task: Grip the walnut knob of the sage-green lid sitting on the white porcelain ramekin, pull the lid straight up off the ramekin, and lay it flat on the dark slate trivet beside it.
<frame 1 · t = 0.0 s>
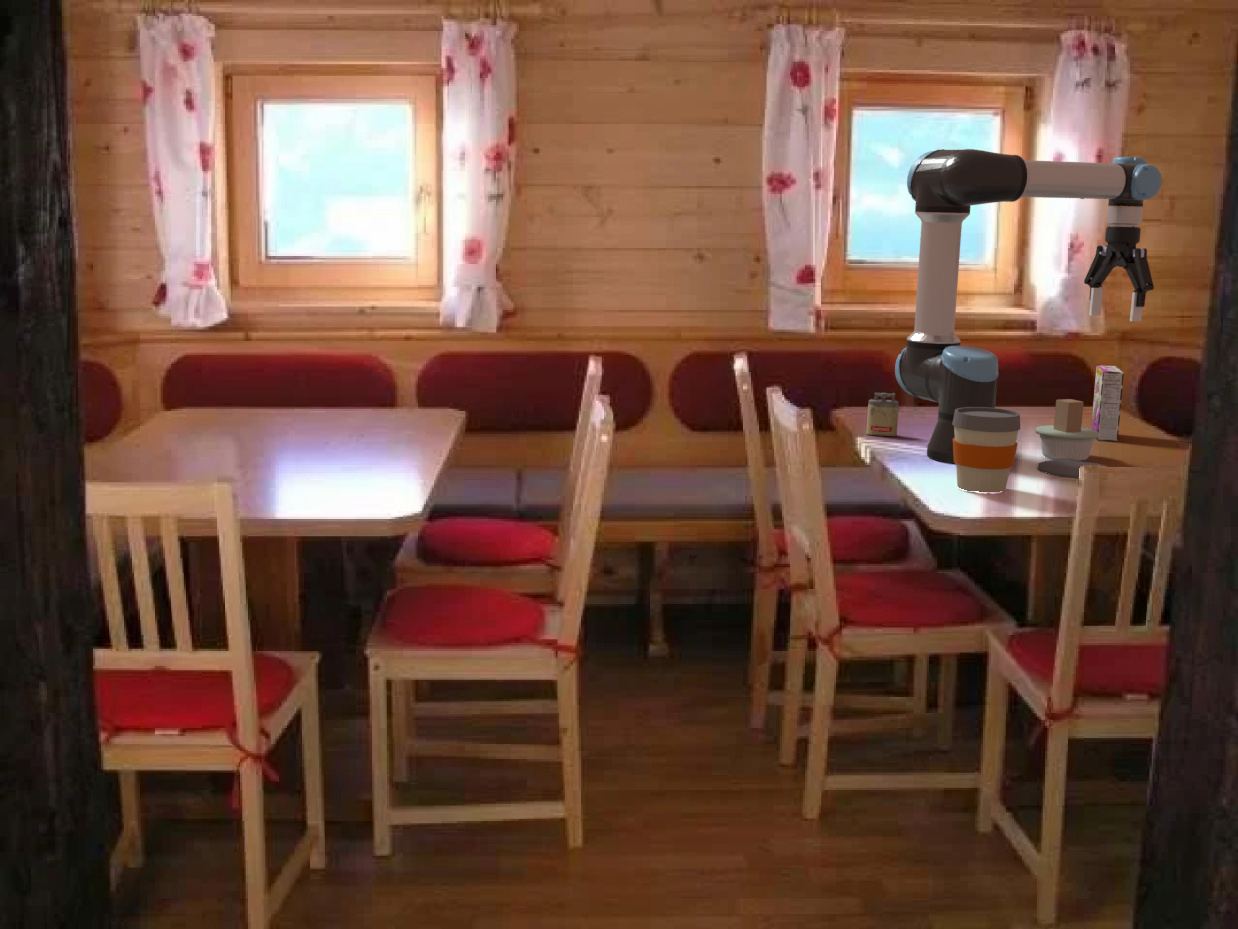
hand: (1114, 318, 313), 28 cm above the table, fingers open, 13 cm apart
candy bar box: (1103, 438, 319), on the table
lid: (1066, 434, 292), point 5 cm above the table, touching ramekin
trivet: (1075, 471, 278), on the table
lighter: (881, 435, 315), on the table
ramekin: (1064, 458, 293), on the table, touching lid
reusable coffee cup: (981, 490, 259), on the table
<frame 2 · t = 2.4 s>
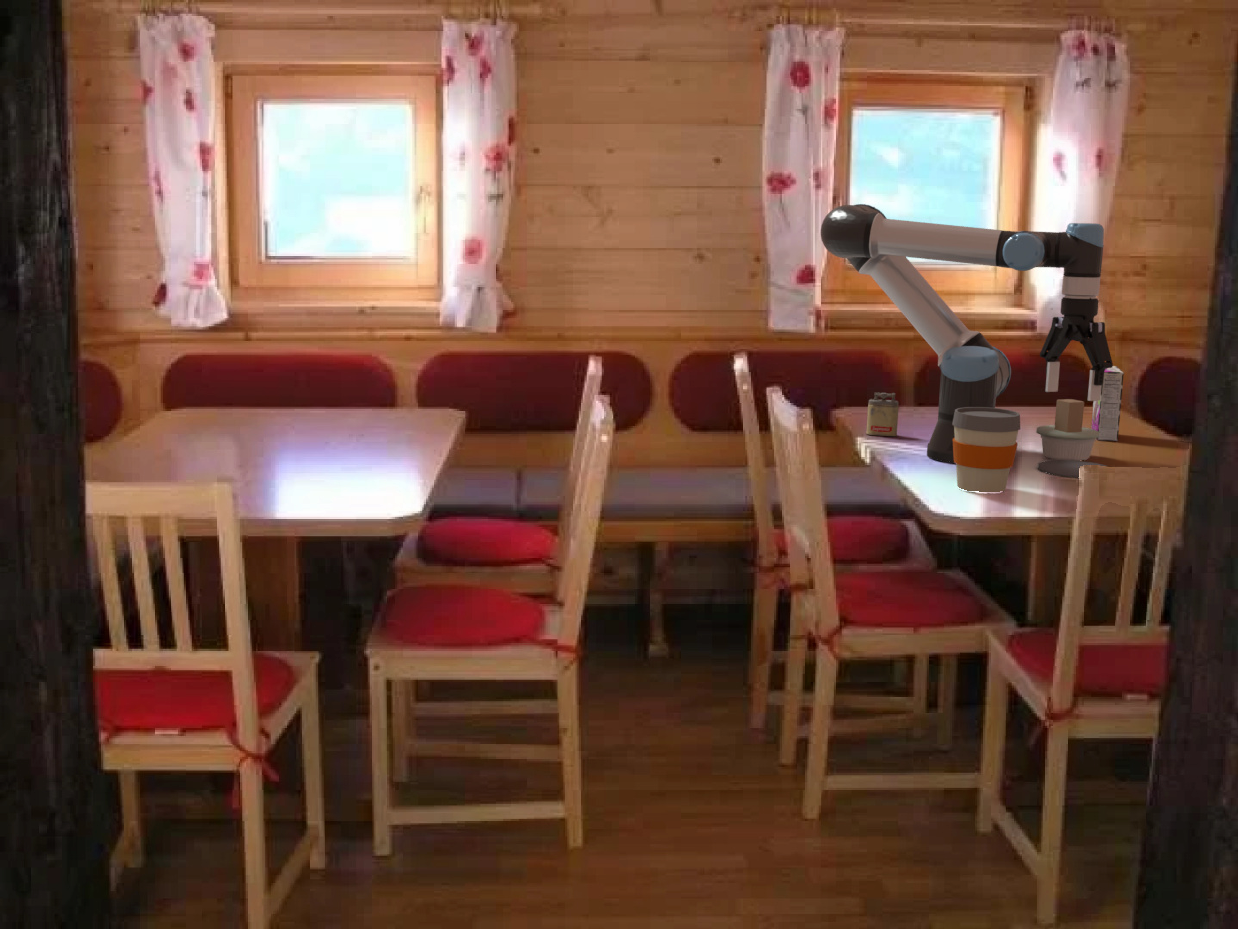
hand: (1072, 396, 290), 13 cm above the table, fingers open, 13 cm apart
nothing on the table moved.
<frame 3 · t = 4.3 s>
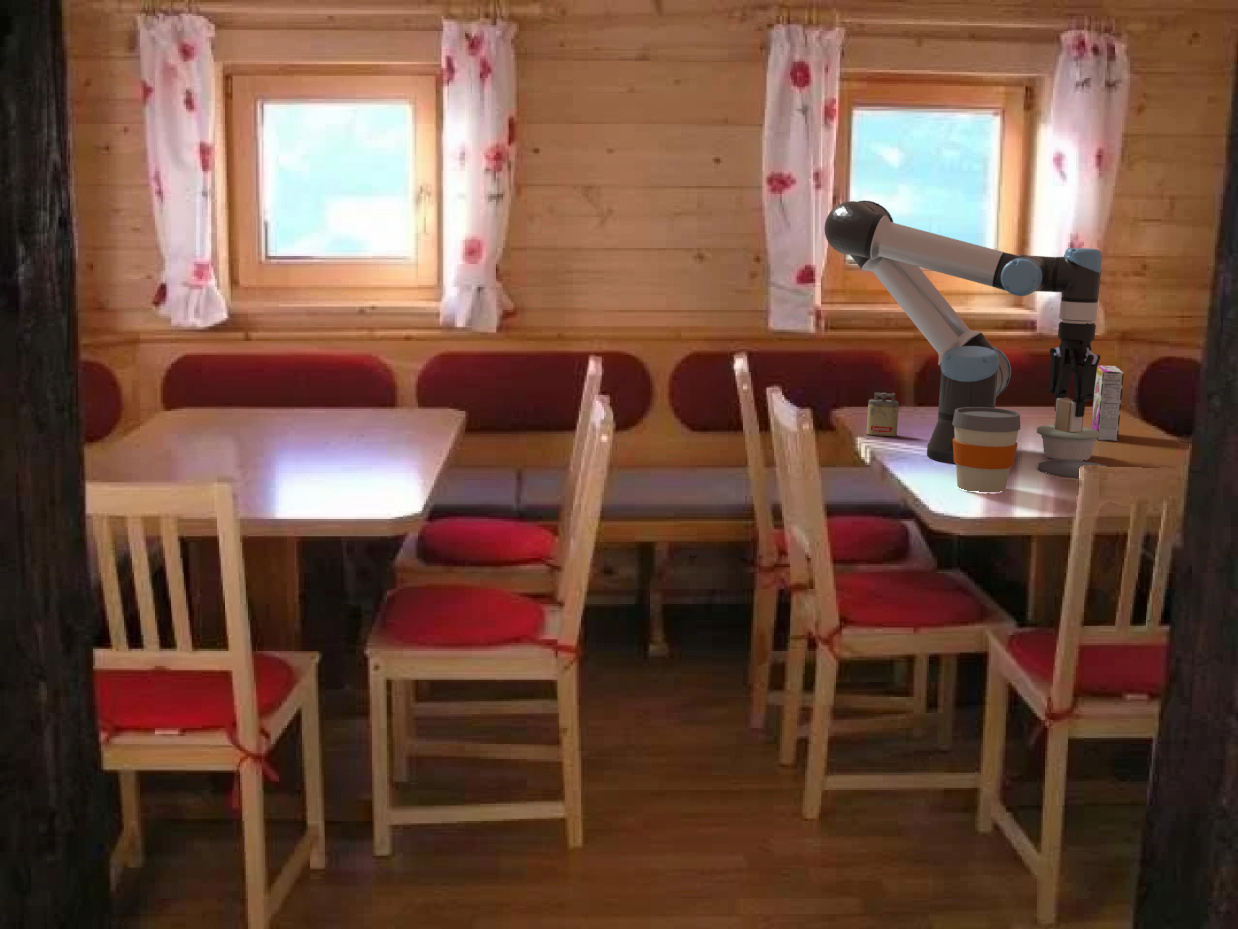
hand: (1067, 429, 292), 6 cm above the table, fingers closed on lid, 4 cm apart
lid: (1068, 434, 292), point 5 cm above the table, touching gripper, ramekin
everything else where it was.
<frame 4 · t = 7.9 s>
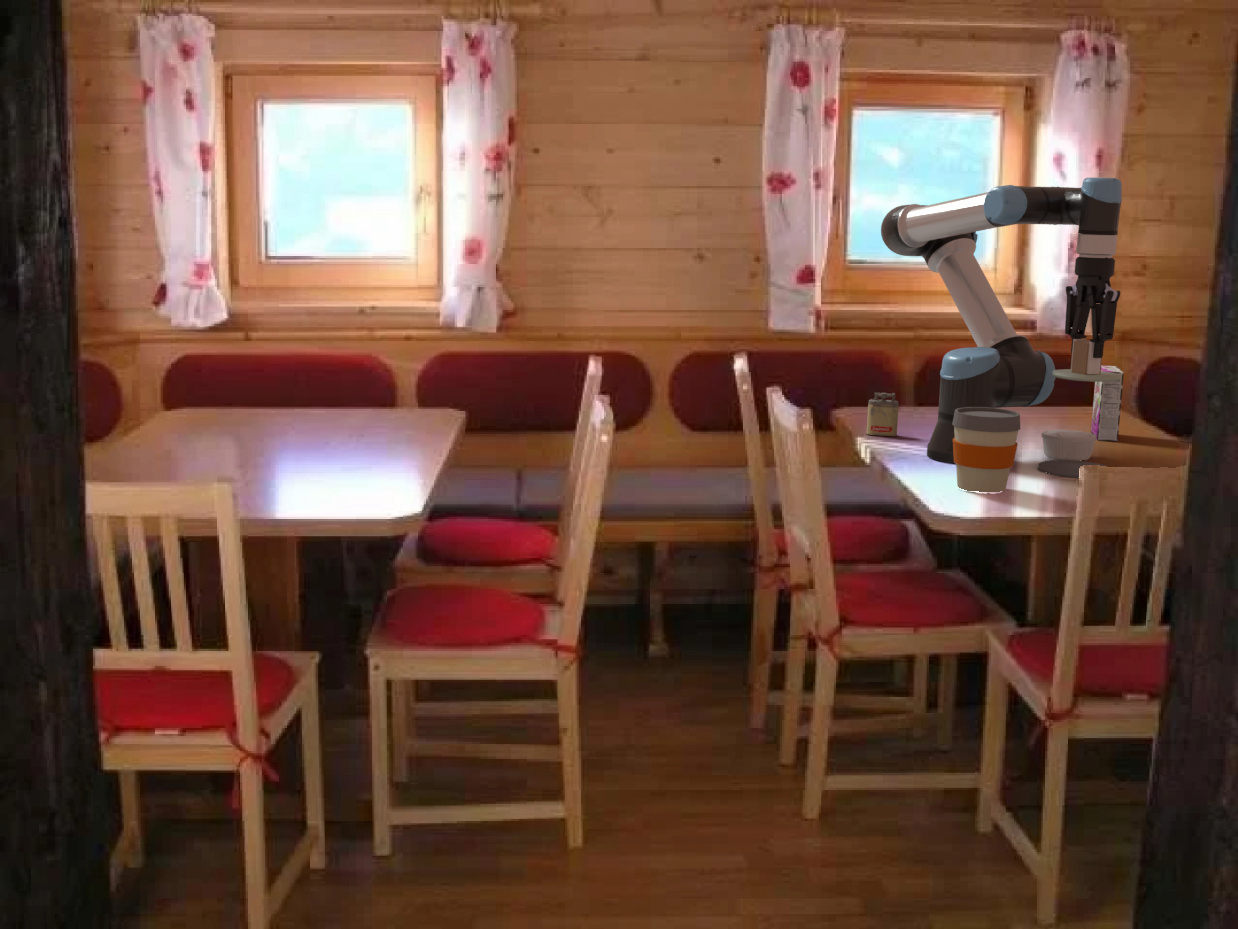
hand: (1084, 372, 274), 21 cm above the table, fingers closed on lid, 4 cm apart
lid: (1085, 377, 274), point 20 cm above the table, touching gripper
ramekin: (1066, 458, 293), on the table
everything else where it was.
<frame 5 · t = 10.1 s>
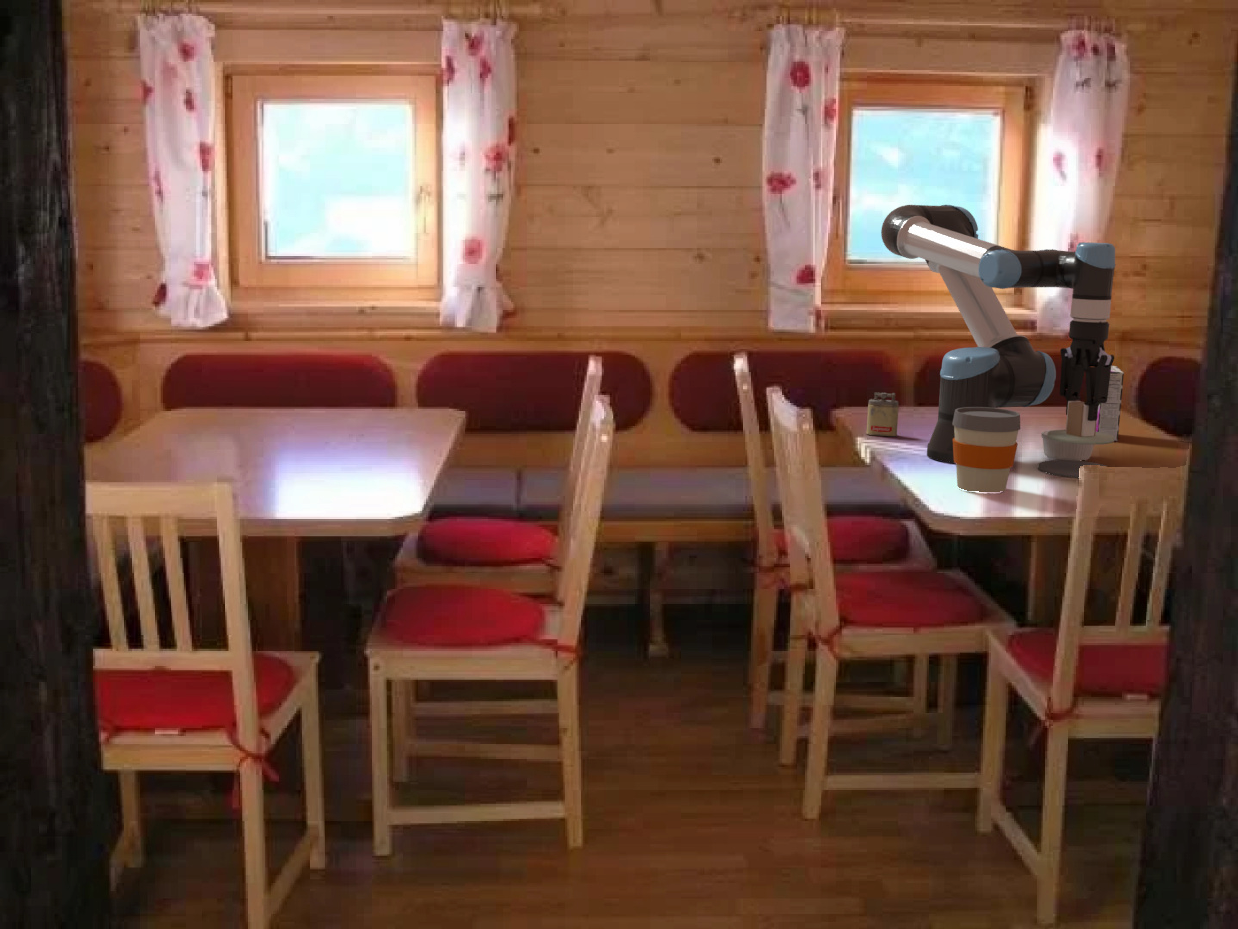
hand: (1079, 433, 276), 8 cm above the table, fingers closed on lid, 4 cm apart
lid: (1080, 438, 277), point 7 cm above the table, touching gripper
everything else where it was.
when the fingers open (3 cm above the table, at t = 11.7 s): lid drops 1 cm, resting on trivet.
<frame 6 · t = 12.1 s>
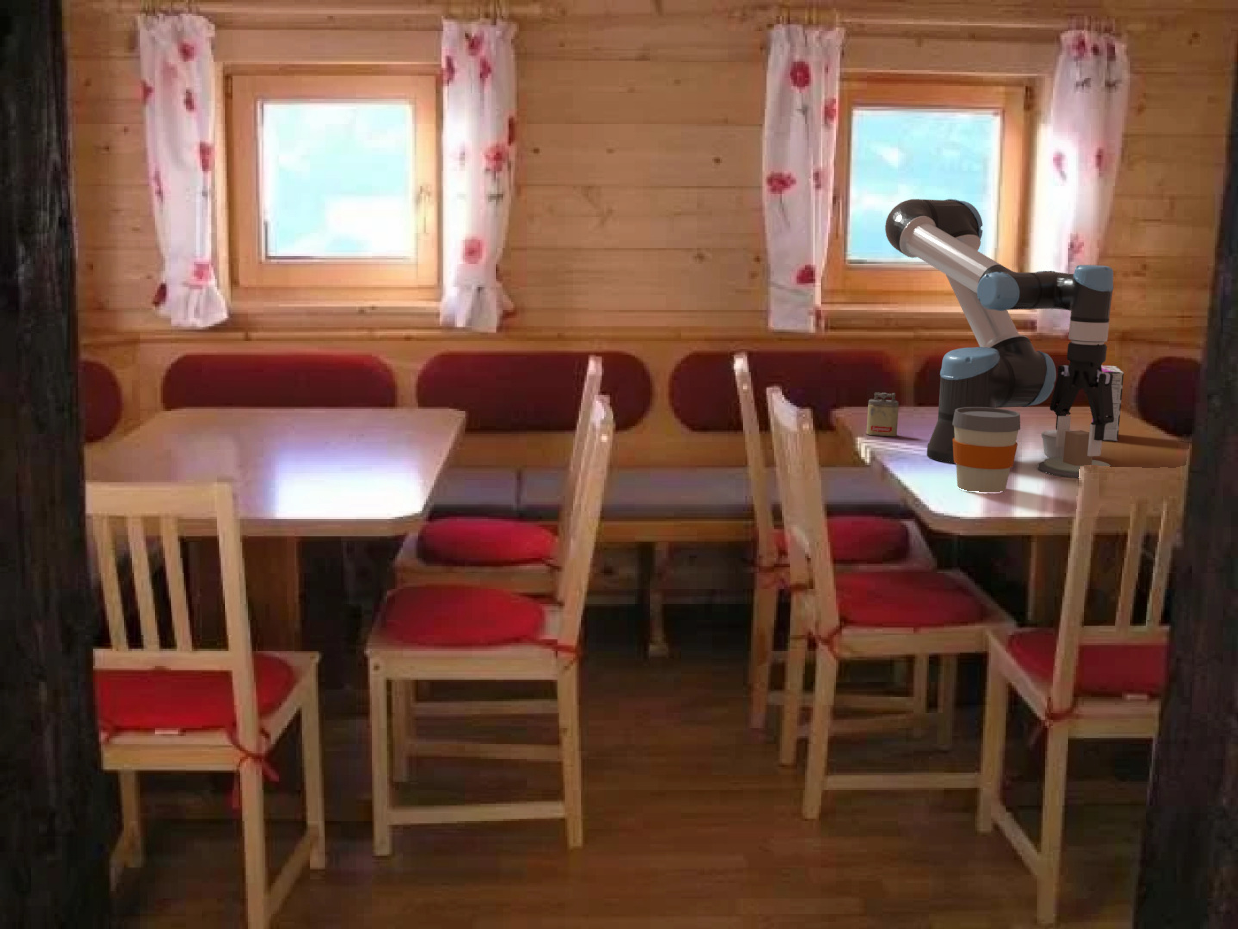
hand: (1077, 451, 277), 4 cm above the table, fingers open, 9 cm apart
lid: (1076, 467, 278), point 1 cm above the table, touching trivet
everything else where it was.
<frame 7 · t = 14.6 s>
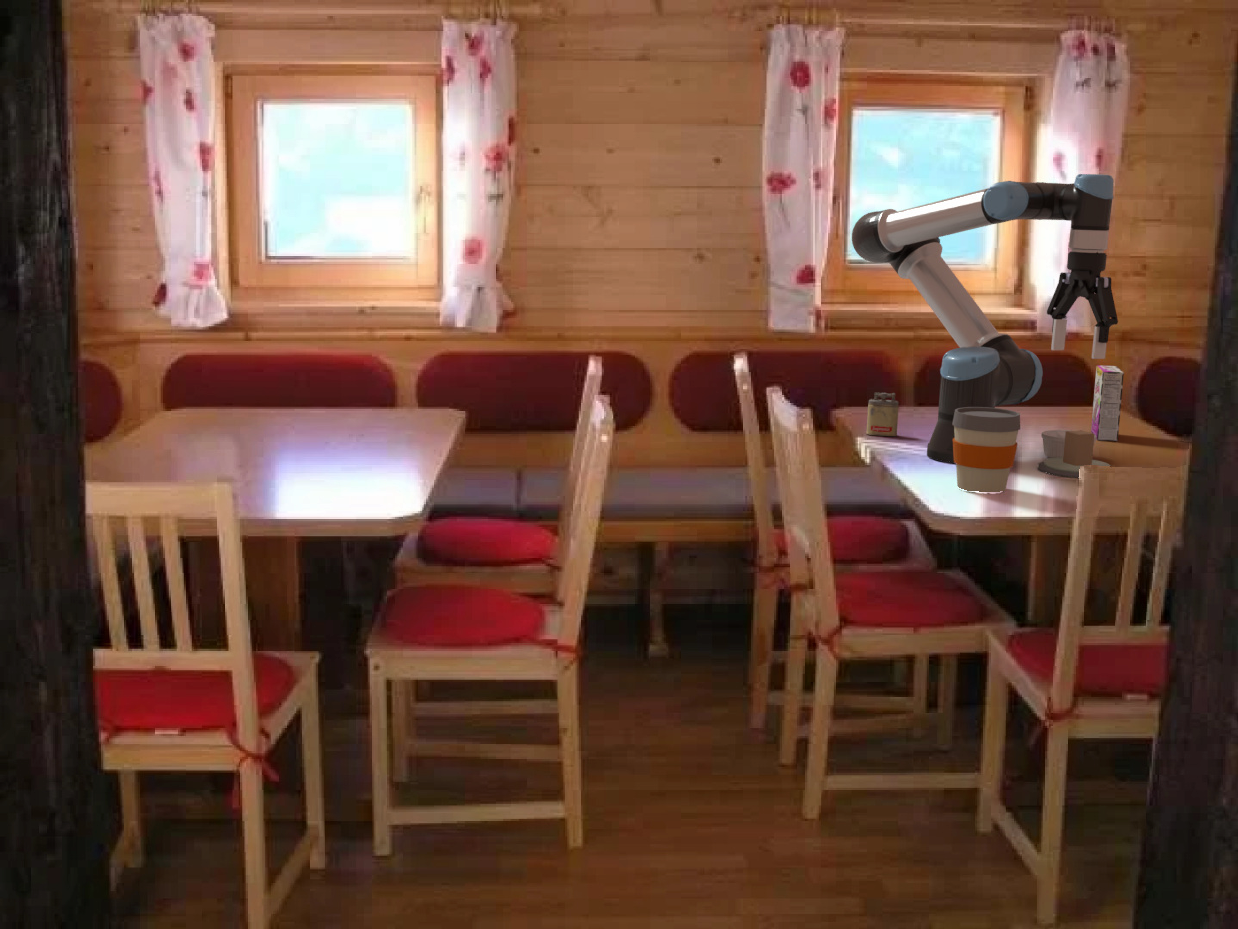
hand: (1077, 354, 280), 23 cm above the table, fingers open, 13 cm apart
nothing on the table moved.
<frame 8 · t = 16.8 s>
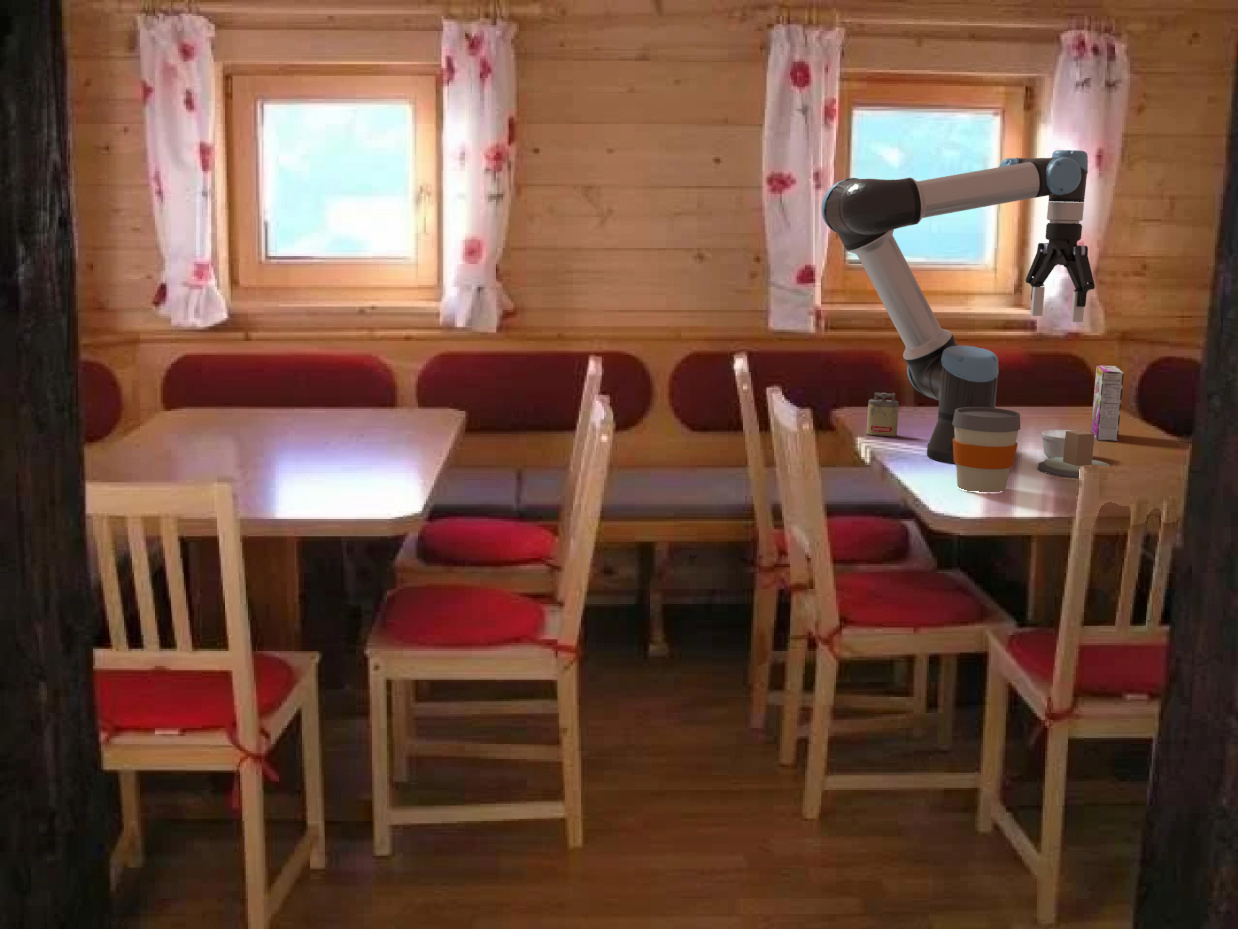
hand: (1056, 318, 301), 29 cm above the table, fingers open, 13 cm apart
nothing on the table moved.
at the end: lid inside the target area on the trivet (0.2 cm from its centre), point 0.8 cm above the trivet's base; lid tilted 0°; the gripper is holding nothing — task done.
